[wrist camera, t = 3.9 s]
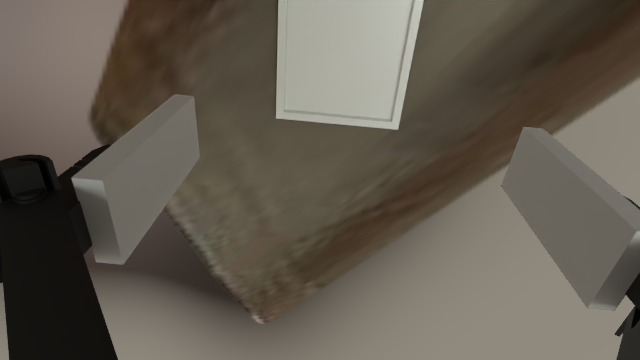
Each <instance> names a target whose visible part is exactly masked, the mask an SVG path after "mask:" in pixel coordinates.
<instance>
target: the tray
mask: <svg viewBox="0 0 640 360" xmlns="http://www.w3.org/2000/svg"><path fill="white" fill-rule="evenodd" d="M423 1H424V0H278V45H277V93H276V118H278V119H289V120H299V121H310V122H321V123H332V124H342V125H353V126H364V127H375V128H385V129H396V130H398V127H399V122H400V117H401V112H402V107H403V102H404V97H405V92H406V87H407V82H408V77H409V72H410V67H411V62H412V57H413V52H414V46H415V41H416V36H417V31H418V26H419V21H420V16H421V11H422V6H423Z"/></svg>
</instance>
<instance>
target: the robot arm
mask: <svg viewBox="0 0 640 360" xmlns="http://www.w3.org/2000/svg"><path fill="white" fill-rule="evenodd" d="M199 158H200V156H199V145H198V134H197V124H196V113H195V102H194V96H187V95H176V94H175V95H173V96H172V97H171V98H170V99H168V100H167V101H166V102H165V103H163V104H162V105H161V106H160V107H158V108H157V109H156V110H155V111H154V112H152V113H151V114H150V115H149V116H147V117H146V118H145V119H144V120H142V121H141V122H140V123H139V124H137V125H136V126H135V127H134V128H132V129H131V130H130V131H129V132H127V133H126V134H125V135H124V136H122V137H121V138H120V139H119V140H118V141H116V142H115V143H114V144H113V145H109V144H107V145H105V146H102V147H100V148H97V149H95V150H92V151H91V152H90V153H88V154H87V155H86V156H85V157H83V158H82V160H79V161H78V162H77V163H75V164H74V166H73V167H70V168H69V169H68V170H66V171H65V172H64V173H62V174H61V175H60V176H58V177H57V174H56V171H55V168H54V165H53V161H52V160H51V159H50V158H49V157H46V156H42V155H23V156H15V157H12V158H8V159H4V160H1V161H0V283H3V287H4V300H5V313H6V325H7V337H8V349H9V360H118V358H117V355H116V353H115V350H114V346H113V344H112V340H111V337H110V334H109V331H108V329H107V326H106V323H105V319H104V316H103V314H102V310H101V308H100V304H99V301H98V298H97V295H96V292H95V289H94V286H93V283H92V280H91V277H90V274H89V271H88V268H87V265H86V262H85V259H84V256H83V255H84V254H85V253H86V252H87V250H88V249H89V248H90V247H91V246H92V249H93V253H94V256H95V259H96V262H101V263H113V264H124V263H125V261H126V260H127V258H128V257H129V256H130V254H131V253H132V251H133V250H134V249H135V247H136V246H137V245H138V243H139V242H140V240H141V239H142V238H143V236H144V235H145V233H146V232H147V231H148V229H149V228H150V227H151V225H152V224H153V222H154V221H155V220H156V218H157V217H158V215H159V214H160V213H161V211H162V210H163V208H164V207H165V206H166V204H167V203H168V201H169V200H170V199H171V197H172V196H173V194H174V193H175V192H176V190H177V189H178V187H179V186H180V185H181V183H182V182H183V180H184V179H185V178H186V176H187V175H188V173H189V172H190V171H191V169H192V168H193V167H194V165H195V164H196V162H197V161H198V160H199ZM501 187H502V188H503V189H504V191H505V192H506V194H507V195H508V196H509V198H510V199H511V201H512V202H513V203H514V205H515V206H516V208H517V209H518V211H519V212H520V213H521V215H522V216H523V217H524V219H525V221H526V222H527V223H528V225H529V226H530V228H531V229H532V230H533V232H534V233H535V235H536V236H537V237H538V239H539V240H540V242H541V243H542V245H543V246H544V247H545V249H546V250H547V252H548V253H549V255H550V256H551V257H552V259H553V260H554V262H555V263H556V264H557V266H558V267H559V269H560V270H561V272H562V273H563V274H564V276H565V277H566V279H567V280H568V281H569V283H570V284H571V286H572V287H573V288H574V290H575V291H576V293H577V294H578V295H579V297H580V298H581V300H582V301H583V303H584V304H585V306H586V307H587V308H589V309H600V310H610V311H615V310H616V308H617V307H618V305H619V304H620V303H621V301H622V299H623V298H624V296H625V295H627V296H628V298H629V299H630V300H631V301H632V302H633V304H634V305H635V307H634V308H633V310H632V311H631V312H630V314H629V315H628V316H627V318H626V319H625V321H624V322H623V323H622V325H621V326H620V327H619V329H618V330H617V331H616V333H615V335H617V336H620V335H621V334H622V333H623V337H622V341H621V345H620V348H619V352H618V356H617V360H640V207H639V206H638V205H636V204H635V203H634V202H633V201H632V200H630V199H628V198H626V197H625V196H623V195H621V194H620V193H619V192H618V191H616V189H614V188H613V187H612V186H611V185H610V184H608V183H607V182H606V181H605V180H603V179H602V178H601V177H600V176H599V175H598V174H596V173H595V172H594V171H593V170H592V169H590V168H589V167H588V166H587V165H586V164H584V163H583V162H582V161H581V160H580V159H578V158H577V157H576V156H575V155H574V154H572V153H571V152H570V151H569V150H568V149H567V148H565V147H564V146H563V145H561V143H559V142H558V141H557V140H556V139H555V138H553V137H552V136H551V135H550V134H549V133H547V132H546V131H545V130H544V129H541V128H530V127H523V130H522V133H521V135H520V138H519V140H518V143H517V146H516V148H515V151H514V154H513V156H512V159H511V162H510V164H509V167H508V169H507V172H506V175H505V178H504V180H503V183H502V185H501Z"/></svg>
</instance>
